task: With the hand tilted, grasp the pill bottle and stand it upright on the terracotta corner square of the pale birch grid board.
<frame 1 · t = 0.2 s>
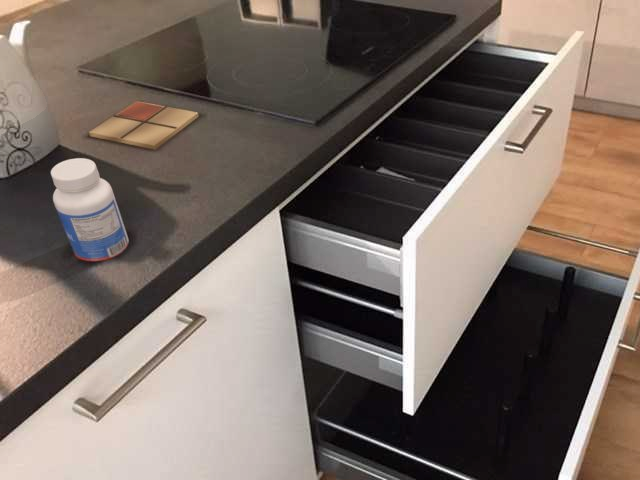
pill bottle: (103, 251, 68), on the table
grid board: (146, 130, 88), on the table
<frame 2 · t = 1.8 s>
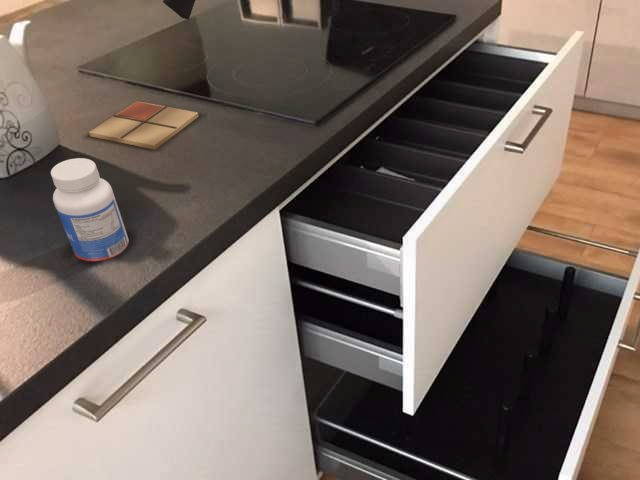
hand: (119, 0, 61), 22 cm above the table, tool tilted 45°, fingers open, 13 cm apart
nothing on the table moved.
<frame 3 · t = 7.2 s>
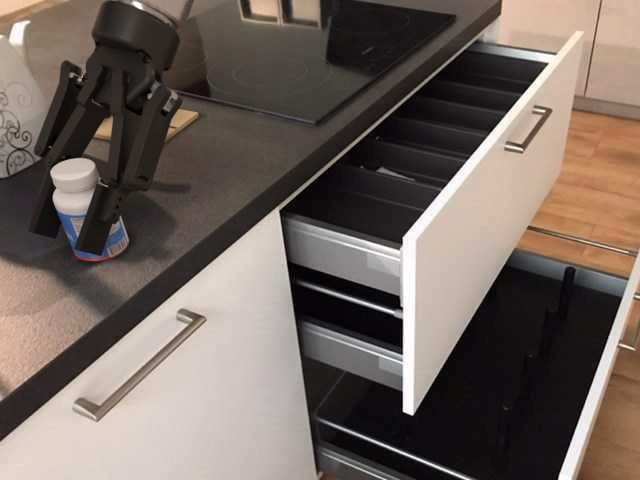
hand: (64, 243, 63), 3 cm above the table, tool tilted 45°, fingers closed on pill bottle, 5 cm apart
pill bottle: (103, 251, 68), on the table, touching gripper
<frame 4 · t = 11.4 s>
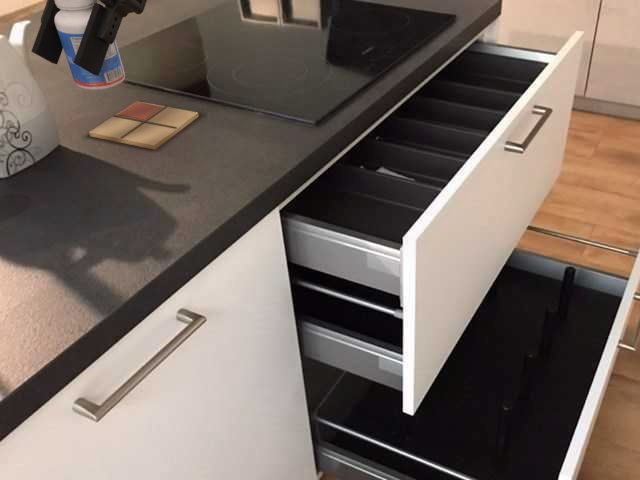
hand: (65, 63, 69), 14 cm above the table, tool tilted 45°, fingers closed on pill bottle, 5 cm apart
pill bottle: (101, 83, 74), point 11 cm above the table, touching gripper
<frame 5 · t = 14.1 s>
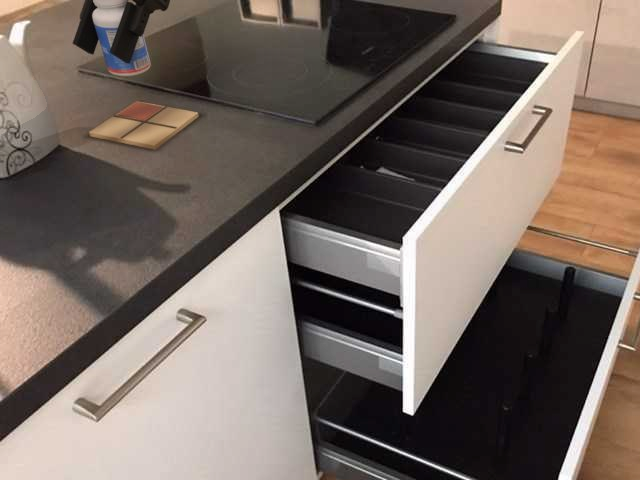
hand: (101, 53, 81), 10 cm above the table, tool tilted 45°, fingers closed on pill bottle, 5 cm apart
pill bottle: (130, 70, 86), point 7 cm above the table, touching gripper
when the fingers open (5 cm above the table, at t = 16.0 s): pill bottle stays where it is, resting on grid board.
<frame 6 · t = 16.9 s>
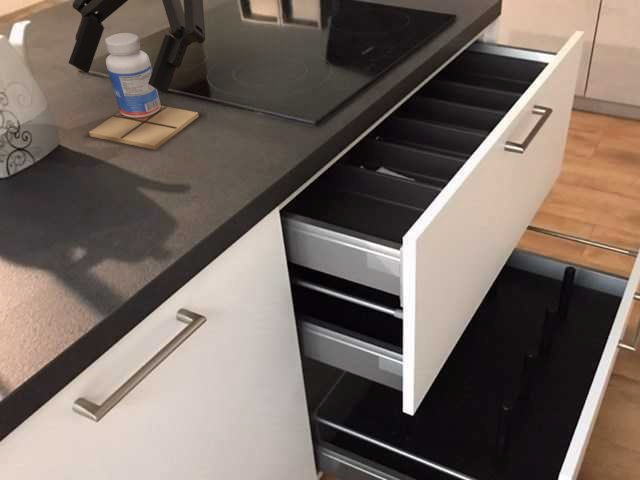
hand: (116, 78, 84), 7 cm above the table, tool tilted 45°, fingers open, 13 cm apart
pill bottle: (141, 111, 90), point 1 cm above the table, touching grid board
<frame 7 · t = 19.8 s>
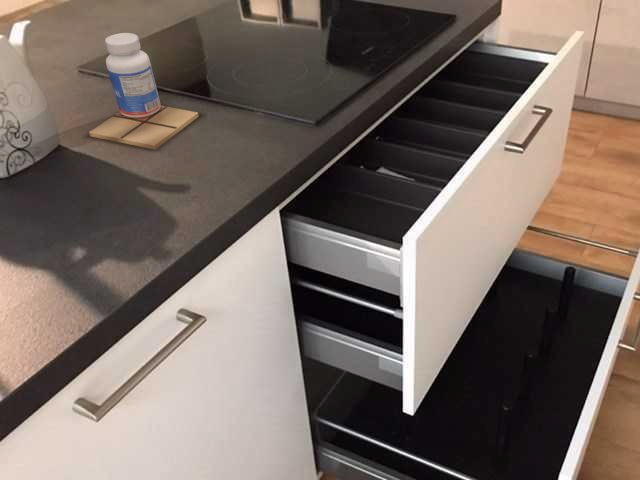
nothing on the table moved.
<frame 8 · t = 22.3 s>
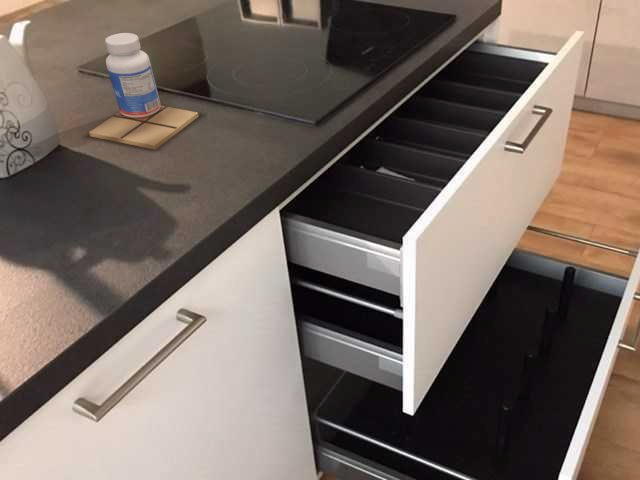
nothing on the table moved.
at the end: pill bottle 0.1 cm from the target spot on the grid board, point 1.1 cm above the grid board's base; pill bottle tilted 0°; the gripper is holding nothing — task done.
